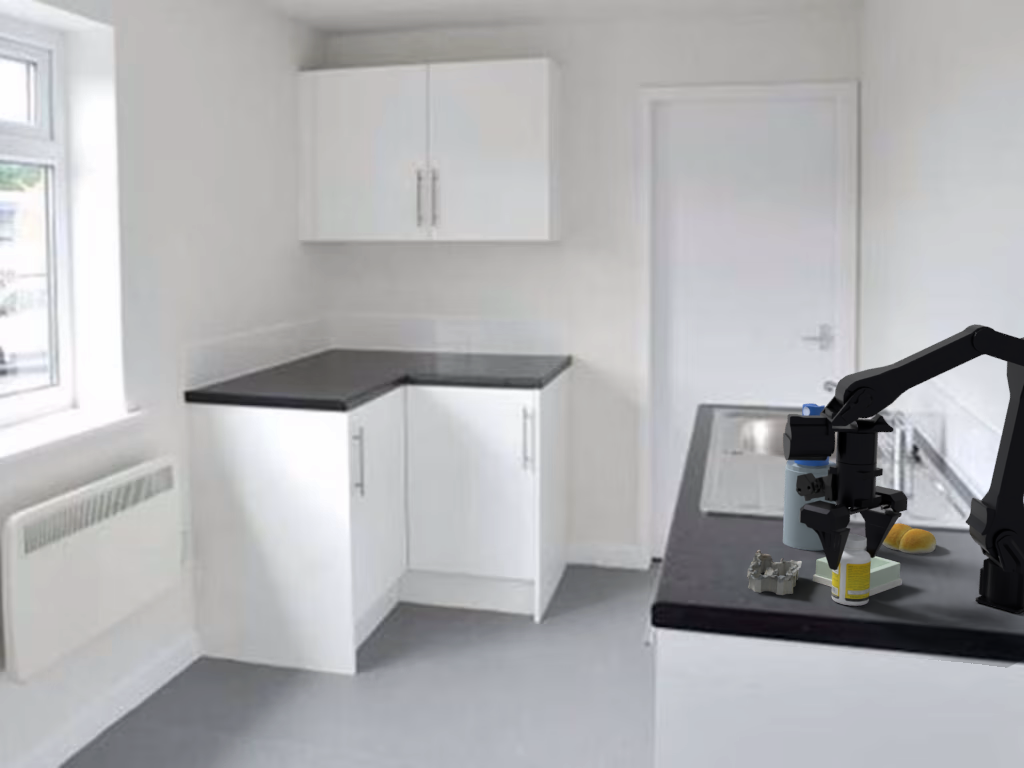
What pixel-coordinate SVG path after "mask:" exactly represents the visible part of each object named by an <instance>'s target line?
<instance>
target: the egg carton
mask: <svg viewBox="0 0 1024 768" xmlns="http://www.w3.org/2000/svg"><path fill="white" fill-rule="evenodd" d="M752 559H753V560H752V561H751V562H750V565H749V567H748V568H747V573H746V575H747V576H746V578H747V579H748V586H747V589H749V590H752V591H753V592H754V593H760V594H761V593H762V592H772V593H775V594H776V595H778V596H785V595H790V594H791V595H792V594H794V588H795V587H796V584H797V583H796V581H797V580H799V570H800V569H801V567H802V563H803V561H801V560H798V561H797V560H793V559H790V560H785V559H784V558H781V559H780V562H779V561H778V562H777V561H775V562H774V561H773V557H772V555H771V554H768V553H763V552H761V549H758V550H756V552H755V553H754V556H753V558H752ZM763 573H764V574H763Z"/></svg>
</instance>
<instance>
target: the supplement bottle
mask: <svg viewBox="0 0 1024 768" xmlns="http://www.w3.org/2000/svg"><path fill="white" fill-rule="evenodd" d="M866 546H867V538H866V537H865V536H863V535H862V534H857V533H849V535H848V539H847V542H846V545H845V548H844V551H843V555H842V558H841V561H840V564H839V566H838V569H837V570H832V587H831V599H832V600H833V601H834V602H835V603H838V604H840V605H845V606H851V607H857V606H858V607H860V606H864V605H866V604H868V603H869V601H870V596H869V593H870V568H871V557H870V554H869V553H868V552H867V551H866Z"/></svg>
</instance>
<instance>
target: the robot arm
mask: <svg viewBox="0 0 1024 768" xmlns="http://www.w3.org/2000/svg"><path fill="white" fill-rule="evenodd" d="M984 355H986V356H989V357H992V358H995V359H998V360H1002V361H1004V362H1006V380H1007V385H1008V386H1007V387H1008V391H1009V399H1008V405H1007V409H1006V415H1005V419H1004V422H1003V428H1002V431H1001V436H1000V441H999V445H998V451H997V454H996V459H995V464H994V469H993V472H992V476H991V477H992V478H991V481H990V486H989V488H988V491H987V492H986V493H985V494H984V496H983V497H982V499H978V498H975V497H972V498H971V500H970V513H969V516H968V517H967V519H966V520H965V524H966V525H967V526H969V529H968V530H969V531H968V532H969V535H970V538H972V540H973V541H974V543H976V544H977V545H978V546H979V547H980V549H981V553H982V555H984V556H986V557H987V558H985V559H983V562H982V563H983V565H982V567H980V569H979V581H978V583H979V584H978V594H979V596H977V597H975V599H974V600H975V602H977V603H980V604H983V605H986V606H990V607H994V608H997V609H1000V610H1004V611H1007V612H1011V613H1014V614H1021V613H1022V612H1024V337H1016V336H1013V335H1010V334H1007V333H1003V332H1000V331H997V330H995V329H994V328H992V327H990V326H986V325H981V324H970V325H968V326H967V327H966V328H964V329H963V330H962V331H959V332H957V333H955V334H953V335H951V336H948V337H947V338H944V339H943V340H941V341H938V342H936V343H934V344H932V345H930V346H928V347H925V348H924V349H921V350H919V351H917V352H915V353H913V354H911V355H909V356H906V357H904V358H902V359H900V360H898V361H896V362H893V363H892V364H887V365H884V366H880V367H873V368H867V369H865V370H860V371H858V372H854V373H850V374H847V375H845V376H843V377H842V378H840V380H839V381H837V384H836V388H835V389H834V396H833V397H832V398H831V399H830V400H829V402H828V403H827V405H825V408H824V409H823V410H822V412H821V413H820V416H815V415H802V414H798V413H789V414H787V420H786V424H785V429H784V432H783V434H782V446H783V447H782V448H783V455H784V459H785V460H786V461H788V460H810V461H826V459H827V457H829V458H830V457H832V455H833V454H835V453H836V454H835V463H836V465H834V466H830V468H829V469H828V475H826V476H821V477H817V478H815V476H814V475H813V474H812V473H808V474H803V475H799V476H797V482H796V491H797V493H798V494H799V495H800V496H804V498H805V501H810V500H811V499H813V498H820V497H825V500H826V501H831V502H832V501H835V502H836V504H832V503H828V502H824V501H820V500H819V501H815V502H811V503H808V504H805V505H804V506H803V507H801V508H800V520H799V521H800V523H804V524H805V525H806V526H807V527H808V528H812V529H813V530H814V531H815V532H816V533H817V534H818V536H819V539H820V541H821V543H822V546H823V549H824V550H823V552H824V554H825V556H824V557H826V559H827V562H828V565H829V568H830V569H832V570H837V569H838V566H839V564H840V561H841V558H842V555H843V551H844V548H845V545H846V542H847V539H848V535H849V534H850V533H851V532H850V531H851V528H850V527H848V526H849V524H850V522H851V516H852V515H855V514H860V515H861V517H862V519H863V520H864V529H865V530H864V531H865V532H864V533H865V536H864V537H866V538H867V546H866V548H865V551H867V552H868V553H869V554H870V557H871V558H874V557H875V556H876V555H877V553H878V552H879V550H880V548H881V547H882V545H883V544H882V543H883V542H884V540H885V538H886V537H887V535H888V533H889V532H890V530H891V529H892V527H893V525H894V524H896V523H897V521H898V519H899V518H900V517H902V514H903V513H902V512H904V511H907V510H908V497H907V496H906V494H905V493H904V491H902V490H899V489H895V488H894V489H893V488H890V487H885V486H884V487H883V486H880V485H877V477H881V476H883V472H884V469H883V468H882V467H881V468H880V467H878V441H879V433H892V432H894V427H892V425H890V424H889V423H888V422H887V421H886V420H885V418H884V416H883V415H882V414H880V413H881V412H882V411H883V410H885V409H886V408H888V407H890V406H891V405H893V403H895V401H897V400H898V399H899V397H901V395H903V394H904V393H905V392H907V391H908V390H910V389H912V388H915V387H916V386H918V385H921V384H922V383H924V382H927V381H929V380H931V379H933V378H935V377H939V376H940V375H942V374H944V373H946V372H949V371H951V370H953V369H955V368H957V367H959V366H962V365H963V364H966V363H968V362H970V361H972V360H974V359H976V358H978V357H981V356H984ZM835 448H836V449H835ZM835 450H836V451H835Z"/></svg>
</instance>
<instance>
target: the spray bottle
mask: <svg viewBox="0 0 1024 768" xmlns="http://www.w3.org/2000/svg"><path fill="white" fill-rule="evenodd" d="M825 407H826V405H818V404H816V403H814V402H813V403H809V402H808V403H803V404H802V408H801V409H802V411H801V412H802V413H801V415H815V416H820V413H821V412H822V410H823V409H824V408H825ZM834 465H836V462H835V461H831V460H830V457H827V459H826V461H810V460H786V465H785V466H784V468H785V469H784V488H783V489H784V495H783V496H784V497H783V525H782V529H783V530H782V543H783V545H785V546H787V547H790V548H794V549H797V550H803V551H824V549H823V546H822V543H821V541H820V539H819V536H818V534H817V533H816V532H815V531H814V530H813V529H812V528H808V527H807V526H806V525H805V524H804V523H800V521H799V520H800V508H801V507H803V506H804V505H805V504H808V503H811V502H815V501H819V500H820V501H824V502H828V503H832V504H836V502H835V501H832V502H831V501H826V500H825V497H820V498H813V499H811V500H810V501H805V498H804V496H800V495H799V494H798V493H797V491H796V482H797V476H799V475H803V474H808V473H812V474H813V475H814V476H815V478H817V477H821V476H826V475H828V469H829V468H830V466H834Z"/></svg>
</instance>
